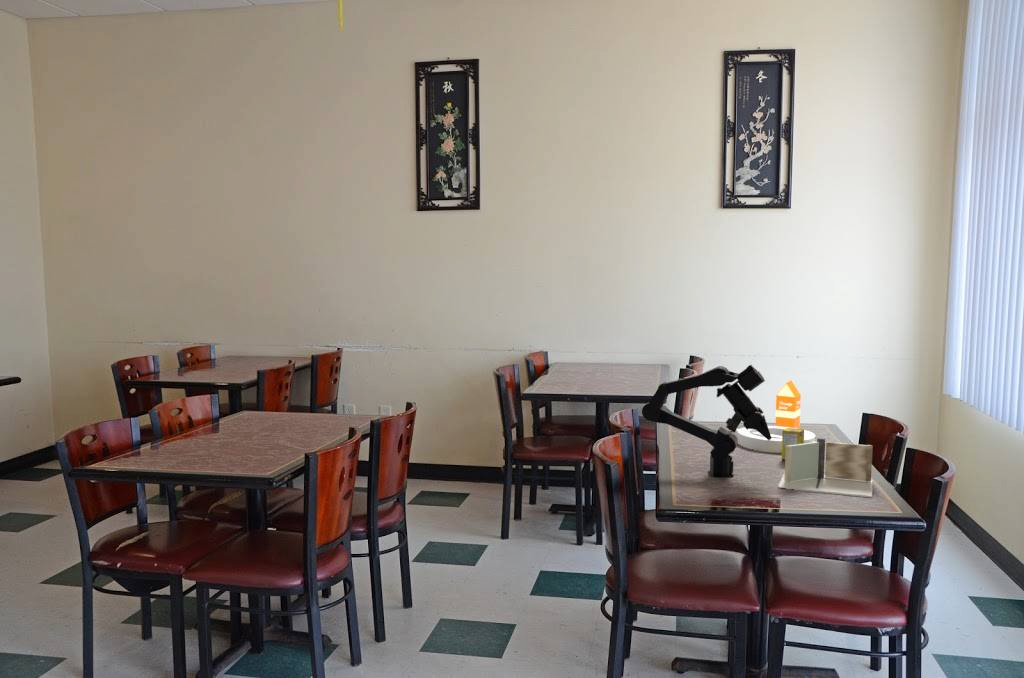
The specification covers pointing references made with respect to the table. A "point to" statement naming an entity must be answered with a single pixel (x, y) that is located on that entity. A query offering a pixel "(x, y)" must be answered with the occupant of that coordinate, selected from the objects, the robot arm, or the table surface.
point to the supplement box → (791, 438)
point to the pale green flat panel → (801, 461)
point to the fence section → (845, 461)
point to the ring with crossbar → (760, 443)
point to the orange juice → (788, 406)
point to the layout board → (830, 486)
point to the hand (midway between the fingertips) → (770, 439)
